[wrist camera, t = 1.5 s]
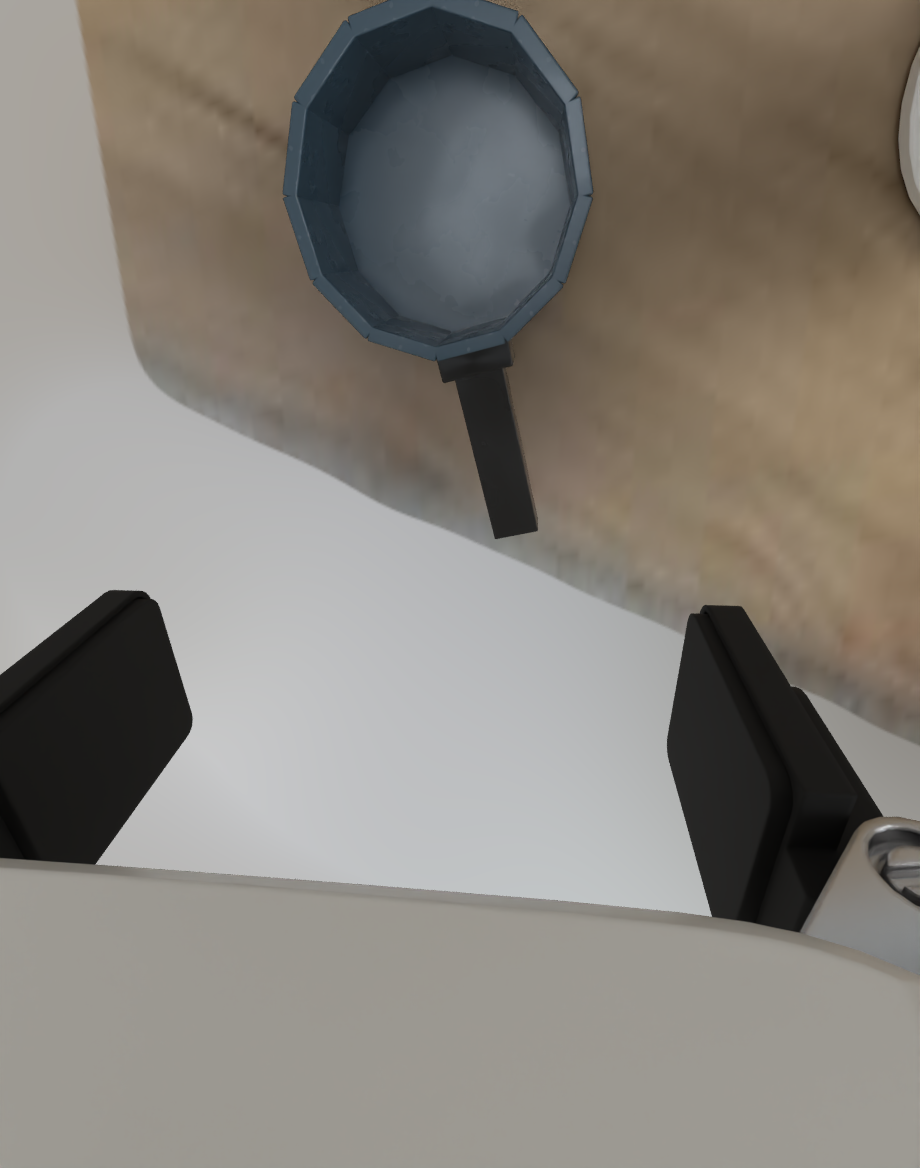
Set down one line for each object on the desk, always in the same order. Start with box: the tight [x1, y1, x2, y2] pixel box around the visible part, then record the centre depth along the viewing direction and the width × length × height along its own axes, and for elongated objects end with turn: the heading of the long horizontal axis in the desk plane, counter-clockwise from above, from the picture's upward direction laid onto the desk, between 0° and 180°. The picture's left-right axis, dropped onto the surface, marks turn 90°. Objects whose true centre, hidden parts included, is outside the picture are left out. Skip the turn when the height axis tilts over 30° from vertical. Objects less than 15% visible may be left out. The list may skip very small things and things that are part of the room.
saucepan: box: [283, 0, 593, 539], centre depth 28 cm, size 12×21×6 cm, turn 14°
